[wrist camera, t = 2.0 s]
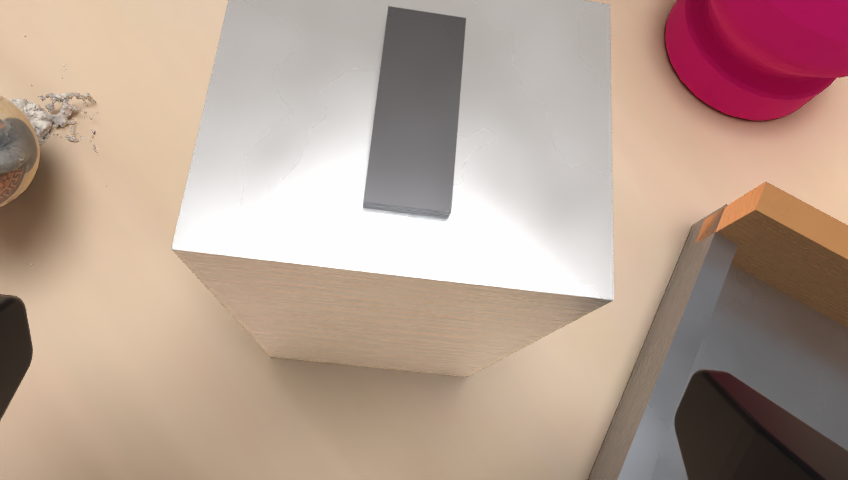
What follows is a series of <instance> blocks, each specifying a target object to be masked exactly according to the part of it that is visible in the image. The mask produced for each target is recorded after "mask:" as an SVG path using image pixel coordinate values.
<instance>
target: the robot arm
mask: <svg viewBox="0 0 848 480" xmlns="http://www.w3.org/2000/svg"><path fill="white" fill-rule="evenodd" d="M32 353H33V348H32V341H31V336H30V330H29V324H28V319H27V313H26V308H25V305H24V303H23V301H22V300H21V299H20V298H18V297H17V296H12V295H2V294H0V420H1V418H2V417H3V415H4V413H5V411H6V409H7V407H8V405H9V404H10V402H11V400H12V398H13V396H14V394H15V392H16V390H17V389H18V387H19V385H20V383H21V381H22V379H23V377H24V376H25V374H26V372H27V370H28V368H29V366H30V363H31V360H32ZM674 427H675V433H676V437H677V440H678V444H679V448H680V452H681V455H682V459H683V463H684V467H685V470H686V474H687V478H688V480H848V451H847V450H846V449H844V448H843V447H841V446H840V445H838V444H836V443H835V442H833V441H832V440H830V439H829V438H827V437H826V436H824V435H823V434H821V433H820V432H818V431H817V430H815V429H814V428H812V427H811V426H809V425H808V424H806V423H805V422H803V421H802V420H800V419H798V418H797V417H795V416H794V415H792V414H791V413H789V412H788V411H786V410H785V409H783V408H782V407H780V406H779V405H777V404H776V403H774V402H773V401H771V400H770V399H768V398H767V397H765V396H764V395H762V394H761V393H759V392H757V391H756V390H754V389H753V388H751V387H750V386H748V385H747V384H745V383H744V382H742V381H741V380H739V379H738V378H736V377H735V376H733V375H732V374H730V373H728V372H724V371H716V370H706V369H700V370H697V371H696V372H695V373H694V374H693V375H692V376H691V378H690V381H689V383H688V385H687V387H686V390H685V392H684V394H683V397H682V399H681V401H680V403H679V406H678V408H677V410H676V413H675V418H674Z"/></svg>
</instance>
